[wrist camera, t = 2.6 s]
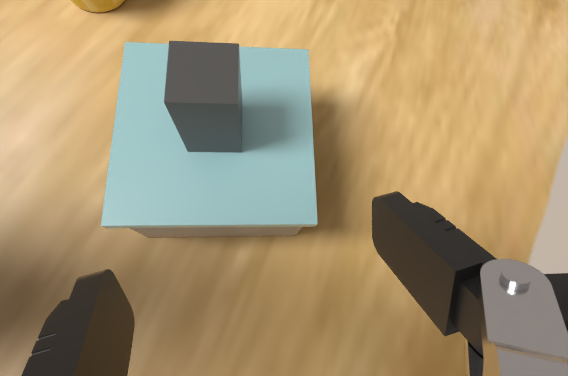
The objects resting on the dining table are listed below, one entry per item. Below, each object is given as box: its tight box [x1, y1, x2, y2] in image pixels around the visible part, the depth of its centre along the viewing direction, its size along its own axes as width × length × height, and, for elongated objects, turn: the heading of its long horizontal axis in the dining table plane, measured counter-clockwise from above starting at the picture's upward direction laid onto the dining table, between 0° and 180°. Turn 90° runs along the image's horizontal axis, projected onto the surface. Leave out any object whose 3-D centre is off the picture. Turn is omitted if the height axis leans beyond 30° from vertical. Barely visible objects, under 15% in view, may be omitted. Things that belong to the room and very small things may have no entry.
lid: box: [101, 41, 318, 228], centre depth 23 cm, size 15×15×9 cm
